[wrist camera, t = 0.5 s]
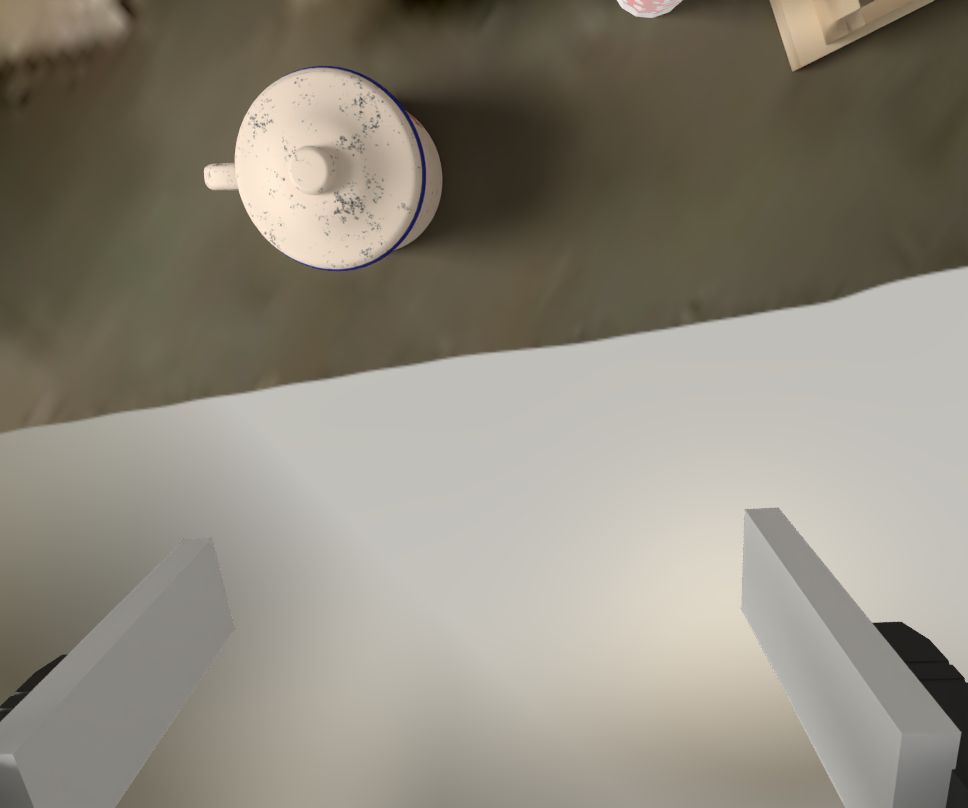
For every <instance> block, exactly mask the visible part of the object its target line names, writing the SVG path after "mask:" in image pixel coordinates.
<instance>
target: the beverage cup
mask: <svg viewBox="0 0 968 808" xmlns="http://www.w3.org/2000/svg"><path fill="white" fill-rule="evenodd" d="M617 1H618V3H619V4H620V6H621V7H622V8H623V9H625V10H626V11H628V12H630V13H631V14H633V15H635V16H638V17H649V18H654V17H656V16H659V15H662V14H665V13H668V12H670V11H671V10H672V9H673V8H674V7H675V6H677V5H678V4H679V3H680V2H681V1H682V0H617Z"/></svg>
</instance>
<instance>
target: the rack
mask: <svg viewBox="0 0 968 808" xmlns="http://www.w3.org/2000/svg"><path fill="white" fill-rule="evenodd" d="M933 1H934V0H770V3H771V6H772V9H773V13H774V16H775V19H776V22H777V25H778V28H779V31H780V34H781V38H782V41H783V44H784V47H785V50H786V53H787V56H788V60H789V63H790V66H791V69H792V72H793V71H795V70H797V69H799V68H801V67H803V66H805V65H807V64H809V63H811V62H813V61H815V60H817V59H819V58H821V57H823V56H825V55H827V54H829V53H831V52H833V51H835V50H837V49H839V48H841V47H843V46H845V45H847V44H849V43H851V42H853V41H855V40H857V39H859V38H861V37H863V36H865V35H867V34H869V33H871V32H873V31H875V30H877V29H879V28H881V27H883V26H885V25H887V24H889V23H891V22H893V21H895V20H897V19H899V18H901V17H903V16H905V15H907V14H909V13H911V12H913V11H915V10H917V9H919V8H921V7H923V6H925V5H927V4H929V3H931V2H933Z"/></svg>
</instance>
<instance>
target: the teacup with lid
mask: <svg viewBox="0 0 968 808" xmlns="http://www.w3.org/2000/svg"><path fill="white" fill-rule="evenodd" d="M204 177H205V183H206V185H207V187H209V188H210V189H212V190H227V191H239V193H240V196H241V199H242V201H243V204H244V206H245V208H246V210H247V212H248V214H249V216H250V218H251V220H252V221H253V223H254V224H255V226H256V227H257V228H258V230H259V231H260V232H261V233H262V235H263V236H264V237H265V238H266V239H267V240H268V241H269V242H270V243H271V244H272V245H273V246H274V247H276V248H277V249H278V250H279V251H281V252H282V253H283V254H285V255H286V256H288V257H290V258H291V259H293V260H295V261H297V262H299V263H301V264H304V265H306V266H309V267H312V268H316V269H321V270H327V271H348V270H354V269H359V268H362V267H366V266H368V265H371V264H373V263H375V262H377V261H379V260H381V259H383V258H384V257H386V256H387V255H389V254H390V253H391V252H392V251H394V250H397V249H399V248H402V247H404V246H405V245H407V244H409V243H410V242H412V241H413V240H415V239H416V238H417V237H418V236H419V235H420V234H421V233H422V232H423V231H424V230H425V229H426V228H427V226H428V225H429V223H430V222H431V220H432V219H433V217H434V215H435V213H436V210H437V208H438V205H439V202H440V198H441V193H442V168H441V162H440V158H439V155H438V152H437V149H436V147H435V145H434V143H433V140H432V139H431V137H430V135H429V134H428V132H427V131H426V130H425V128H424V127H423V126H422V125H421V124H420V122H419V121H418V120H417V119H415V118H414V117H413V116H412V115H411V114H409V113H408V112H407V111H406V110H405V109H404V108H403V107H402V105H401V104H400V103H399V102H398V101H397V100H396V98H395V97H394V96H393V95H392V94H391V93H389V92H388V91H387V90H386V89H385V88H384V87H382V86H381V85H380V84H378V83H377V82H375V81H374V80H372V79H370V78H368V77H366V76H364V75H362V74H360V73H358V72H355V71H352V70H349V69H345V68H340V67H333V66H316V67H309V68H304V69H300V70H297V71H294V72H291V73H289V74H287V75H285V76H283V77H281V78H280V79H278V80H276V81H275V82H274V83H272V84H271V85H270V86H269V87H267V88H266V89H265V90H264V91H263V92H262V93H261V94H260V95H259V96H258V97H257V99H256V100H255V101H254V102H253V104H252V105H251V107H250V108H249V110H248V112H247V114H246V115H245V117H244V120H243V122H242V125H241V127H240V131H239V134H238V138H237V143H236V150H235V163H217V164H210V165H208V166H206V167H205V169H204Z"/></svg>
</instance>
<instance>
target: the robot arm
mask: <svg viewBox="0 0 968 808" xmlns="http://www.w3.org/2000/svg"><path fill="white" fill-rule="evenodd" d="M741 609H742V611H743V613H744V615H745V617H746V619H747V621H748V623H749V625H750V627H751V628H752V630H753V632H754V634H755V636H756V638H757V640H758V641H759V644H760V646H761V648H762V649H763V651H764V653H765V655H766V657H767V659H768V661H769V663H770V665H771V666H772V669H773V670H774V672H775V674H776V676H777V678H778V680H779V682H780V684H781V686H782V688H783V689H784V691H785V693H786V695H787V697H788V699H789V701H790V703H791V705H792V707H793V709H794V710H795V713H796V714H797V716H798V718H799V720H800V722H801V724H802V726H803V728H804V730H805V732H806V733H807V735H808V737H809V739H810V741H811V743H812V745H813V747H814V749H815V750H816V753H817V755H818V756H819V758H820V760H821V762H822V764H823V766H824V768H825V770H826V772H827V774H828V776H829V777H830V779H831V781H832V783H833V785H834V787H835V789H836V791H837V793H838V795H839V796H840V798H841V800H842V802H843V804H844V806H845V808H968V683H966V682H965V680H964V679H965V678H964V677H963V676H962V675H961V674H960V673H959V672H958V671H957V669H956V668H955V667H954V666H953V665H950V664H949V661H948V660H947V658H946V657H945V656H944V655H943V654H942V653H941V652H940V651H939V650H938V649H937V647H936V646H935V645H934V644H933V643H932V642H931V641H930V640H929V639H928V638H926V637H925V636H923V635H921V634H919V633H918V632H916V631H915V630H913V629H912V628H910V627H909V626H907V625H905V624H904V623H902V622H882V623H872V622H871V621H870V620H869V618H868V617H867V616H866V615H865V614H864V612H863V611H862V610H861V609H860V607H859V606H858V605H857V604H856V602H855V601H854V600H853V599H852V598H851V596H850V595H849V594H848V593H847V592H846V590H845V589H844V588H843V587H842V585H841V584H840V583H839V582H838V580H837V579H836V578H835V577H834V576H833V574H832V573H831V572H830V571H829V569H828V568H827V567H826V566H825V565H824V563H823V562H822V561H821V559H820V558H819V557H818V556H817V555H816V553H815V552H814V551H813V550H812V548H811V547H810V546H809V545H808V544H807V543H806V541H805V540H804V539H803V537H802V536H801V535H800V534H799V532H798V531H797V530H796V529H795V528H794V526H793V525H792V524H791V523H790V521H789V520H788V519H787V518H786V516H785V515H784V514H783V513H782V512H781V510H780V509H779V508H762V509H745V516H744V547H743V578H742V608H741ZM234 630H235V627H234V623H233V619H232V616H231V611H230V607H229V603H228V599H227V595H226V591H225V587H224V583H223V579H222V575H221V571H220V567H219V563H218V559H217V555H216V551H215V547H214V543H213V539H212V538H198V539H183V540H182V541H181V542H180V543H179V544H178V545H177V546H176V547H175V548H174V549H173V550H172V551H171V553H169V554H168V555H167V556H166V557H165V558H164V559H163V560H162V561H161V562H160V563H159V564H158V565H157V566H156V567H155V568H154V569H153V570H152V571H151V572H150V573H149V574H148V575H147V576H146V577H145V578H144V579H143V580H142V581H141V582H140V583H139V584H138V585H137V586H136V587H135V588H134V589H133V590H132V591H131V592H130V593H129V594H128V595H127V596H126V597H125V598H124V599H123V600H122V601H121V602H120V603H119V604H118V605H117V606H116V607H115V608H114V609H113V610H112V611H111V612H110V613H109V614H108V615H107V616H106V617H105V618H104V619H103V620H102V621H101V622H100V623H99V624H98V625H97V626H96V627H95V628H94V629H93V630H92V631H91V632H90V633H89V634H88V635H87V636H86V637H85V638H84V639H83V640H82V641H81V642H80V643H79V644H78V645H77V646H76V647H75V648H74V649H73V650H72V651H71V652H70V653H69V654H68V655H61V656H60V657H58V658H57V659H55V660H54V661H52V662H51V663H49V664H47V665H46V666H45V667H43V668H41V669H40V670H38V671H37V672H35V673H34V674H33V675H32V676H31V677H30V678H29V679H28V680H27V681H26V682H25V683H24V684H23V685H22V686H21V687H20V688H19V689H18V690H17V691H15V695H14V696H11V697H9V698H8V699H7V700H6V701H5V702H4V703H3V704H2V705H1V706H0V808H115V806H116V805H117V804H118V802H119V801H120V799H121V798H122V796H123V794H124V793H125V792H126V790H127V789H128V787H129V786H130V784H131V783H132V781H133V780H134V779H135V777H136V776H137V774H138V773H139V771H140V770H141V768H142V766H143V765H144V764H145V762H146V761H147V759H148V758H149V756H150V755H151V753H152V752H153V750H154V749H155V747H156V746H157V744H158V743H159V741H160V740H161V738H162V737H163V736H164V734H165V733H166V731H167V729H168V728H169V727H170V725H171V724H172V722H173V720H174V719H175V718H176V716H177V715H178V713H179V712H180V710H181V709H182V707H183V706H184V704H185V703H186V701H187V700H188V698H189V697H190V695H191V694H192V692H193V691H194V690H195V688H196V687H197V685H198V683H199V682H200V681H201V679H202V678H203V676H204V675H205V673H206V672H207V670H208V669H209V667H210V666H211V664H212V663H213V661H214V660H215V658H216V657H217V655H218V654H219V652H220V651H221V649H222V648H223V647H224V645H225V644H226V642H227V641H228V639H229V638H230V636H231V635H232V633H233V632H234Z"/></svg>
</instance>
